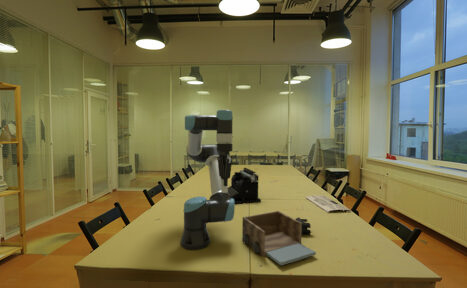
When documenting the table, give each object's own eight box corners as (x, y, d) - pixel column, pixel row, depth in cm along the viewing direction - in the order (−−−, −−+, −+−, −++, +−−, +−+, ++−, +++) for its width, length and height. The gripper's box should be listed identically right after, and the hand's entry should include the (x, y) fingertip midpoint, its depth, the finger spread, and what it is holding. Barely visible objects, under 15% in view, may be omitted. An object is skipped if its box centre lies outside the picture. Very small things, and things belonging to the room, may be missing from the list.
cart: (240, 239, 123) (240, 217, 123) (279, 230, 135) (279, 210, 134) (260, 257, 106) (260, 232, 105) (303, 245, 117) (303, 222, 117)
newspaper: (350, 212, 166) (350, 209, 166) (325, 213, 164) (325, 210, 164) (324, 198, 203) (324, 195, 203) (303, 199, 200) (303, 195, 200)
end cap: (294, 228, 139) (294, 217, 138) (305, 228, 138) (306, 217, 138) (297, 235, 129) (298, 223, 128) (310, 235, 128) (310, 224, 128)
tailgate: (266, 252, 107) (280, 262, 97) (299, 243, 116) (315, 251, 106) (266, 256, 107) (281, 267, 97) (299, 247, 115) (315, 256, 106)
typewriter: (220, 195, 211) (220, 168, 210) (247, 192, 219) (247, 166, 218) (229, 205, 182) (229, 174, 180) (261, 202, 190) (261, 172, 189)
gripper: (237, 143, 104) (237, 194, 105) (226, 142, 115) (226, 188, 116) (222, 143, 100) (222, 196, 102) (212, 142, 112) (212, 189, 113)
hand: (224, 192), depth 109 cm, fingers closed
